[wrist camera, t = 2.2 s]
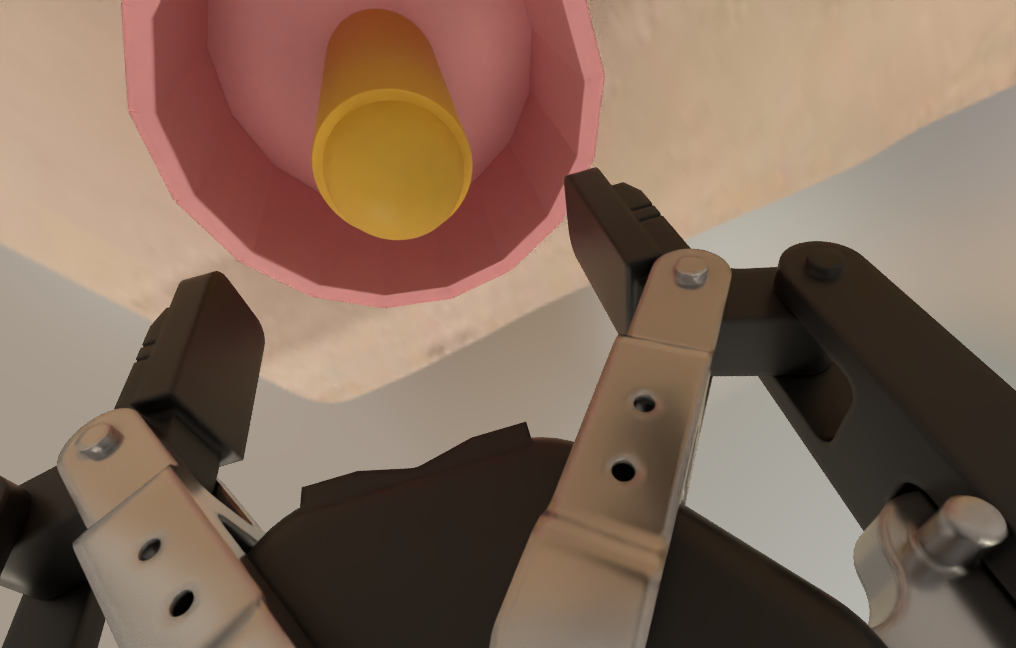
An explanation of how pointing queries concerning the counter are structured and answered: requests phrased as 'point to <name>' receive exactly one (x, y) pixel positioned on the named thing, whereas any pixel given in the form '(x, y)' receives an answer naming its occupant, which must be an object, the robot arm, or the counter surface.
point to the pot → (292, 119)
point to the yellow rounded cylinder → (388, 130)
